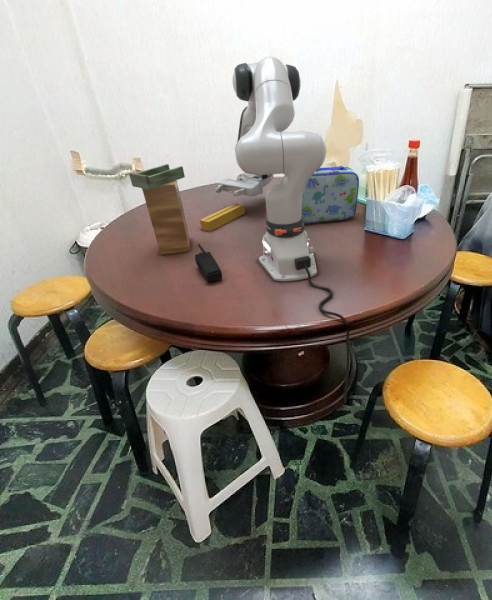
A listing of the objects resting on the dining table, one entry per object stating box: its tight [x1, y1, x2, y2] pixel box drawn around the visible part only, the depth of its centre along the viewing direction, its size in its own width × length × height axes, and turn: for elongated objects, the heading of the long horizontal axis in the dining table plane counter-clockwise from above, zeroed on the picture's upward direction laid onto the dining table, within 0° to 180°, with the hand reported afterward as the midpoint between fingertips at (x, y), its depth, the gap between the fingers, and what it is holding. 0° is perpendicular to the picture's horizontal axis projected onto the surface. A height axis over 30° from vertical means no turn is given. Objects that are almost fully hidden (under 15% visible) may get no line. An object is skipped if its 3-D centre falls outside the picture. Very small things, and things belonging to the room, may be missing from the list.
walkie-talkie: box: [194, 243, 223, 283], centre depth 112 cm, size 6×6×20 cm
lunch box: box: [302, 165, 360, 224], centre depth 140 cm, size 26×11×21 cm, turn 101°
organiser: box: [128, 163, 191, 256], centre depth 120 cm, size 15×14×28 cm
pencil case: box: [199, 202, 246, 232], centre depth 146 cm, size 22×4×4 cm, turn 149°
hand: (225, 192), depth 142 cm, fingers open, 8 cm apart
